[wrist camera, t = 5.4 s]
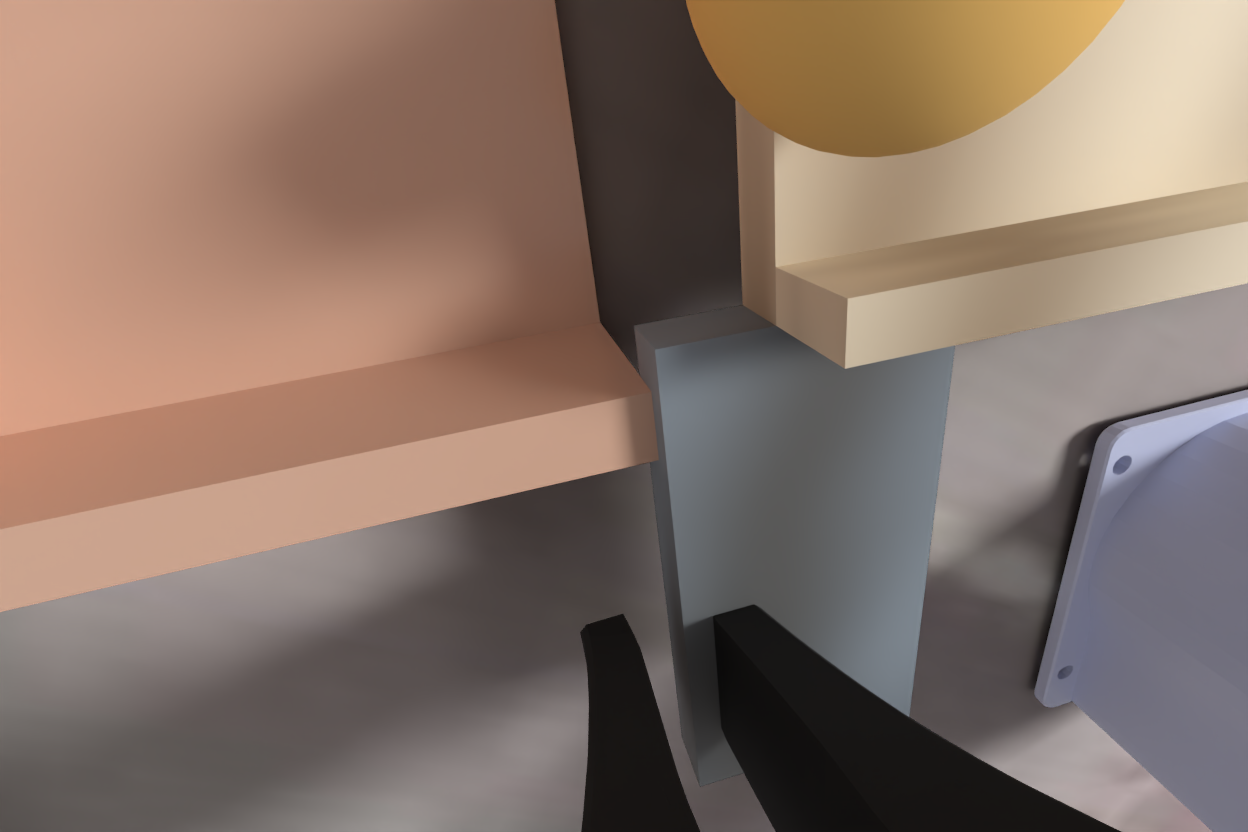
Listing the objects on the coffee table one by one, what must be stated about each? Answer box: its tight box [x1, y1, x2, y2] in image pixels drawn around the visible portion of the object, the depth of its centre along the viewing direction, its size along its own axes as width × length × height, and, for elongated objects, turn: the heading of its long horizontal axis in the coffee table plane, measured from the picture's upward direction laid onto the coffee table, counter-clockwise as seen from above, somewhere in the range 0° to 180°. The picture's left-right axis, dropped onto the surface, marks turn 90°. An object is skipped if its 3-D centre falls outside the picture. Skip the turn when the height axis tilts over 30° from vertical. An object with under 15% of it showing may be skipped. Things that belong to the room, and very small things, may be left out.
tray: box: [0, 0, 659, 612], centre depth 7 cm, size 10×11×4 cm
